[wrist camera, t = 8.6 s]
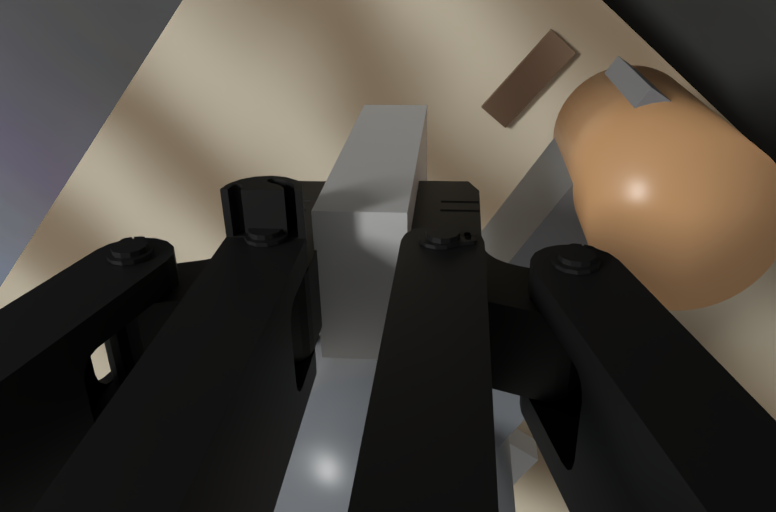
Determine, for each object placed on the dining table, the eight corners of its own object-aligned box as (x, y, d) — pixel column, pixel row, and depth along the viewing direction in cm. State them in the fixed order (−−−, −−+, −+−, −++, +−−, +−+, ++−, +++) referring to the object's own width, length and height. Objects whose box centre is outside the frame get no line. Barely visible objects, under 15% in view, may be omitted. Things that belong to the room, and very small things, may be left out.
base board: (352, -235, 20) (328, -266, 17) (914, 301, 26) (987, 364, 22) (-19, 337, 30) (-83, 394, 27) (441, 634, 36) (438, 714, 32)
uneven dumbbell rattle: (797, 166, 20) (959, 290, 13) (460, 512, 27) (459, 706, 20) (508, -40, 18) (535, -11, 12) (228, 384, 25) (147, 551, 18)
